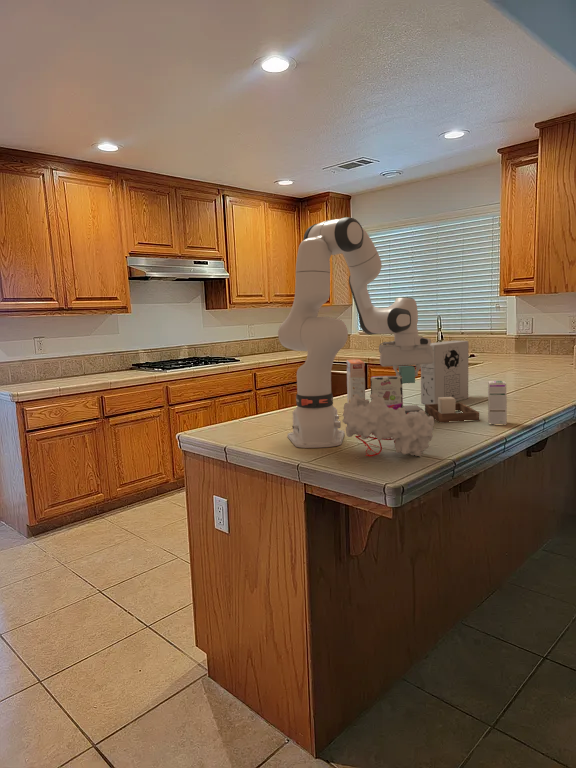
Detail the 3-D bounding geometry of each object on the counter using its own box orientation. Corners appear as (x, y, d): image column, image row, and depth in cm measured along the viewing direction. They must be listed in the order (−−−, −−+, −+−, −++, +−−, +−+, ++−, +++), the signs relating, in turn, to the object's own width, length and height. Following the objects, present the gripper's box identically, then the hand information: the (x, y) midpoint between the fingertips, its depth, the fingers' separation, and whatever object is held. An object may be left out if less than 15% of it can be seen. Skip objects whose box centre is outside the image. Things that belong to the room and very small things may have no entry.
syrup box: (506, 425, 174) (507, 382, 172) (488, 425, 176) (488, 382, 174) (505, 422, 179) (506, 380, 177) (487, 421, 181) (487, 380, 179)
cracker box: (366, 416, 198) (365, 362, 195) (350, 417, 199) (349, 362, 196) (362, 409, 212) (360, 358, 209) (347, 410, 212) (345, 359, 209)
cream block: (455, 414, 195) (455, 399, 194) (442, 415, 195) (441, 399, 194) (451, 412, 200) (451, 396, 199) (438, 412, 200) (438, 397, 199)
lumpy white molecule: (384, 469, 158) (318, 430, 150) (412, 416, 160) (349, 375, 152) (420, 486, 140) (348, 443, 132) (452, 426, 141) (383, 380, 133)
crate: (479, 420, 183) (479, 412, 183) (439, 422, 183) (439, 414, 183) (461, 410, 202) (461, 402, 202) (425, 412, 202) (424, 404, 202)
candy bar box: (403, 419, 191) (402, 375, 188) (403, 422, 186) (402, 377, 184) (372, 419, 193) (371, 375, 191) (371, 422, 189) (370, 377, 186)
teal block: (415, 382, 197) (414, 367, 197) (401, 383, 197) (401, 367, 197) (411, 381, 202) (411, 365, 201) (399, 381, 202) (398, 366, 201)
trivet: (423, 415, 197) (423, 410, 196) (397, 416, 197) (397, 411, 196) (416, 410, 206) (416, 405, 206) (391, 411, 206) (391, 406, 206)
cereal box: (454, 396, 231) (454, 340, 228) (468, 398, 225) (468, 340, 222) (420, 403, 219) (420, 344, 216) (435, 405, 213) (434, 344, 210)
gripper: (380, 342, 194) (381, 379, 196) (435, 339, 194) (435, 376, 196) (377, 341, 201) (378, 377, 203) (430, 338, 201) (430, 374, 203)
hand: (406, 376), depth 200 cm, fingers closed on teal block, 5 cm apart
